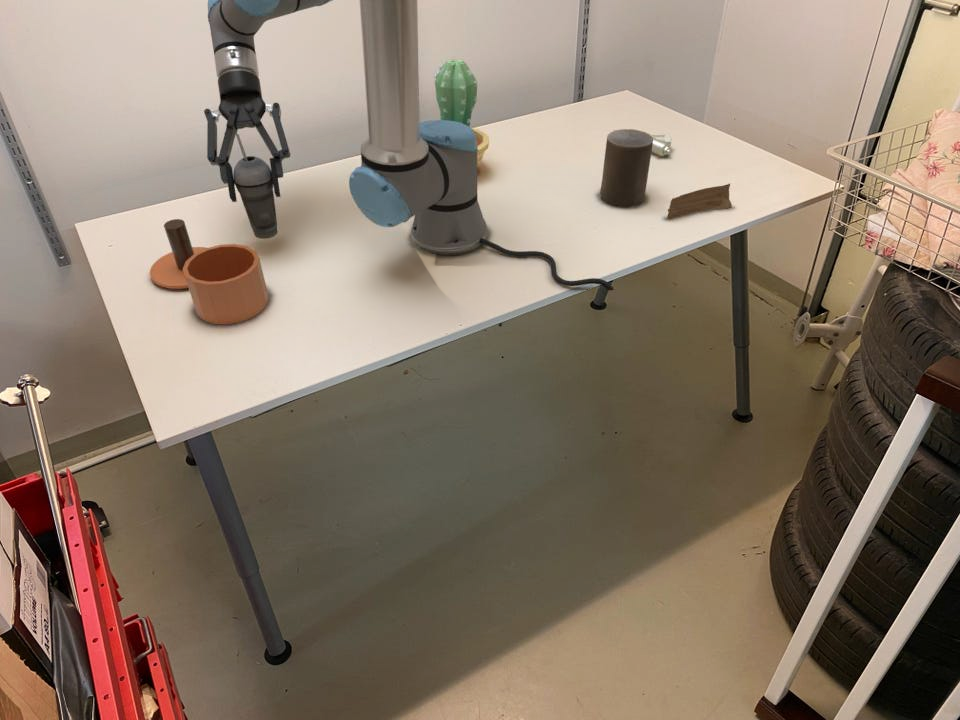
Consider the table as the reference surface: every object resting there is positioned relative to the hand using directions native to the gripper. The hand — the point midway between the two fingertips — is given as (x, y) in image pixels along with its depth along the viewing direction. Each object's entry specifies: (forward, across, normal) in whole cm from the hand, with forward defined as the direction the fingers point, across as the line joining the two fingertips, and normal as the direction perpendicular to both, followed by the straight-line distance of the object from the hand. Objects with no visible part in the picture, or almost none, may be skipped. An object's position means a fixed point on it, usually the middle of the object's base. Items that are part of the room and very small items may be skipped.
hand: (255, 196), depth 133 cm
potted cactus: (-11, +43, +30) cm, 53 cm away
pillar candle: (+4, +76, +15) cm, 78 cm away
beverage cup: (+4, 0, +9) cm, 10 cm away
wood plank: (+12, +90, +8) cm, 91 cm away
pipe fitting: (-10, +92, +29) cm, 97 cm away
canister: (+19, -6, -1) cm, 20 cm away
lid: (+10, -15, +8) cm, 20 cm away
